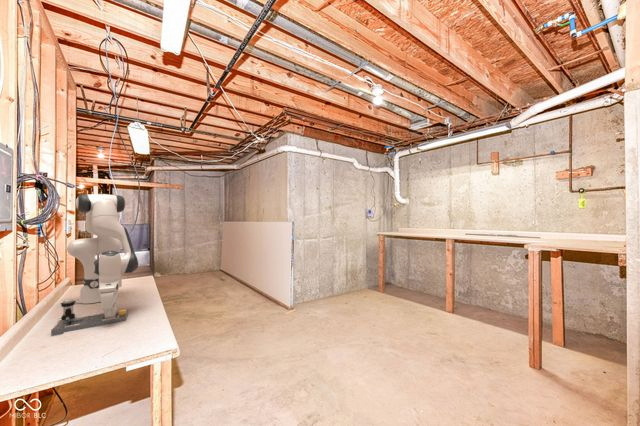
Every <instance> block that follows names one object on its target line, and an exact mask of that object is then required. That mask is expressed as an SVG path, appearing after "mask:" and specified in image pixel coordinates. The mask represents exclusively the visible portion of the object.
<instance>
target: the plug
mask: <svg viewBox="0 0 640 426" xmlns="http://www.w3.org/2000/svg"><path fill="white" fill-rule="evenodd" d="M116 312H117V303H116V302H115V303H114V305H113V306H112V314H111V315H110V316H107V314H106V309H104V314H105V319H106V318H112V317H116Z"/></svg>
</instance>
